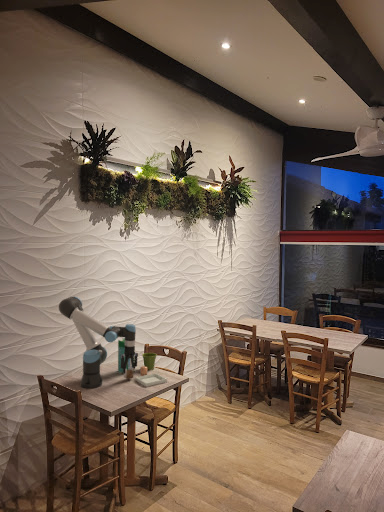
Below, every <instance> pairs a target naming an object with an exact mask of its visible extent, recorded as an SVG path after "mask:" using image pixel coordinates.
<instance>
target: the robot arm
mask: <svg viewBox="0 0 384 512" xmlns="http://www.w3.org/2000/svg"><path fill="white" fill-rule="evenodd" d="M58 311H59V313H60V314H61V315H63V316H64V317H65V318H67V319H69V320H72V323H73V324H74V326H75V328H76V330H77V331H78V334H79V336H80V338H81V339H82V341H83V343H84V346H85V348H86V350H85V352H83V354H82V376H81V380H80V383H79V385H80V387H81V388H84V389H96V388H99V387H101V386H102V385H103V378H102V376H101V365H102V363H104V362H105V361H106V359H107V357H108V352H107V349H106V348H105V347H104V346H103V345H102V344H101V343H100V342H98V341H97V339H96V337H95V334H94V333H96V334H98V335H99V336H101V337H103V338H104V339H105V341H106V342H108V343H113V342H115V341H116V340H117V339H118V338H125V349H124V351H125V352H124V354H123V355H121V368H122V369H123V378H125V379H126V375H127V369H126V366H127V362H128V360H129V358H130V359H131V364H132V367H131V370H132V371H133V374H135V373H134V372H135V369H136V367H138V356H139V353H138V352H135V351H136V346H135V345H136V329H137V327H136V324H132V323H127V324H125V326H116V325H114V326H113V325H111V326H107V325H106V324H104V323H102V322H100V321H98V320H97V319H95V318H94V317H92V316H90V315H89V314H86V313H85V312H84V309H83V302H82V300H81V299H80V298H79V297H77V296H68V297H67V298H64V299H62V300H60V302H59V303H58ZM124 356H125V361H124ZM133 356H134V358H133Z"/></svg>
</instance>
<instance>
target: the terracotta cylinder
mask: <svg viewBox="0 0 384 512" xmlns="http://www.w3.org/2000/svg"><path fill="white" fill-rule="evenodd" d="M145 375H148V370H147V367H146V366H140V376H145Z"/></svg>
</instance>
